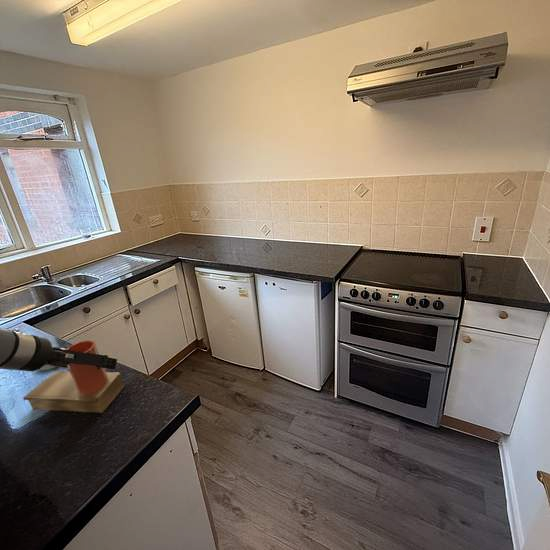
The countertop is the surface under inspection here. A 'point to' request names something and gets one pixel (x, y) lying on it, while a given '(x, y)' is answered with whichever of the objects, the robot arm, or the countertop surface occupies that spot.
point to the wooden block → (73, 394)
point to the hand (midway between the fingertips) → (93, 363)
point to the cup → (87, 370)
